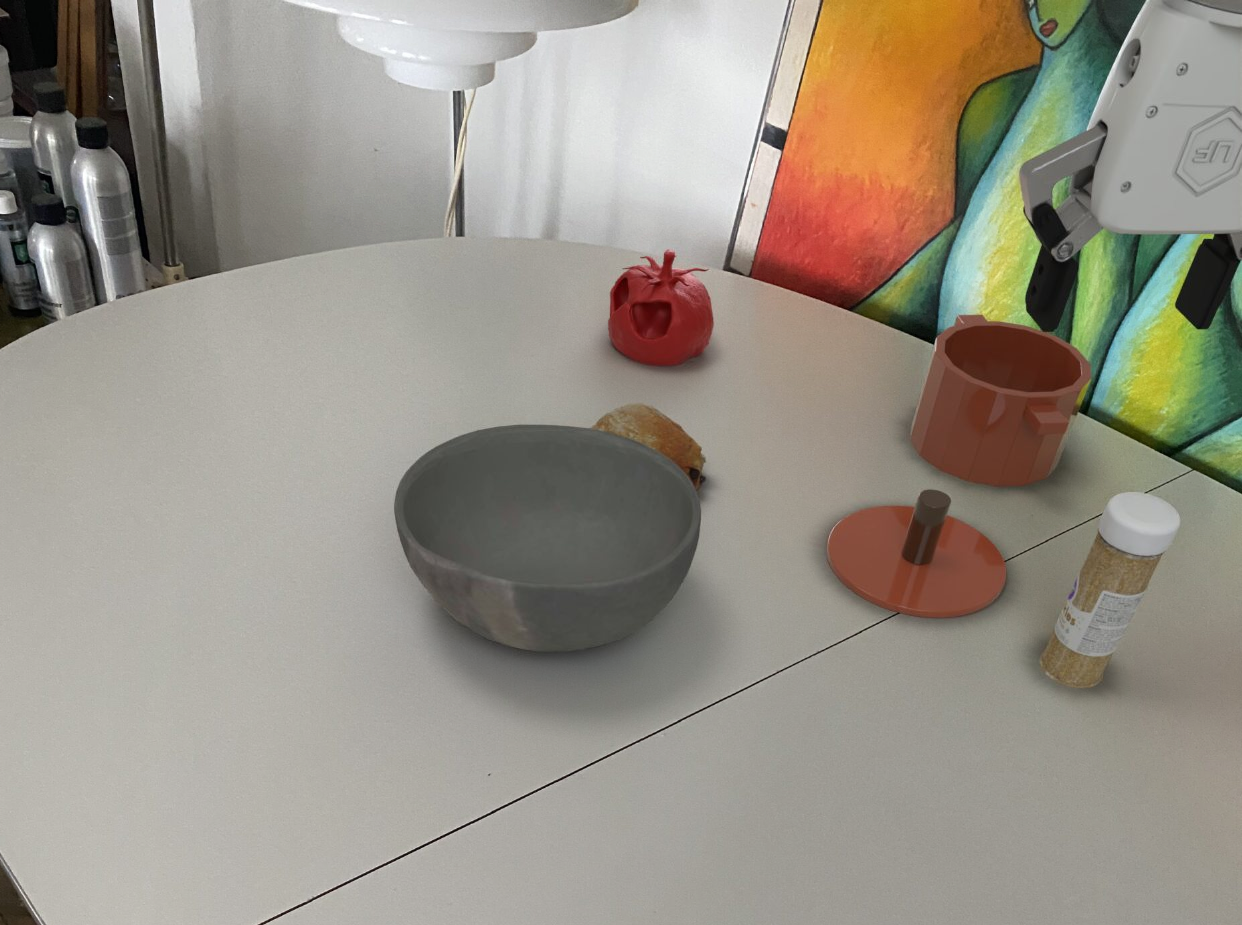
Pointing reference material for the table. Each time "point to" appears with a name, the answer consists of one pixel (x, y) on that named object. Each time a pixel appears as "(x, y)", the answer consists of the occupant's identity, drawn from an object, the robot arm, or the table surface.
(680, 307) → the red tomato
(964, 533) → the lid
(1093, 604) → the sprinkles bottle
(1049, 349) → the pot
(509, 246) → the table surface
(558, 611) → the bowl
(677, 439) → the bread roll
